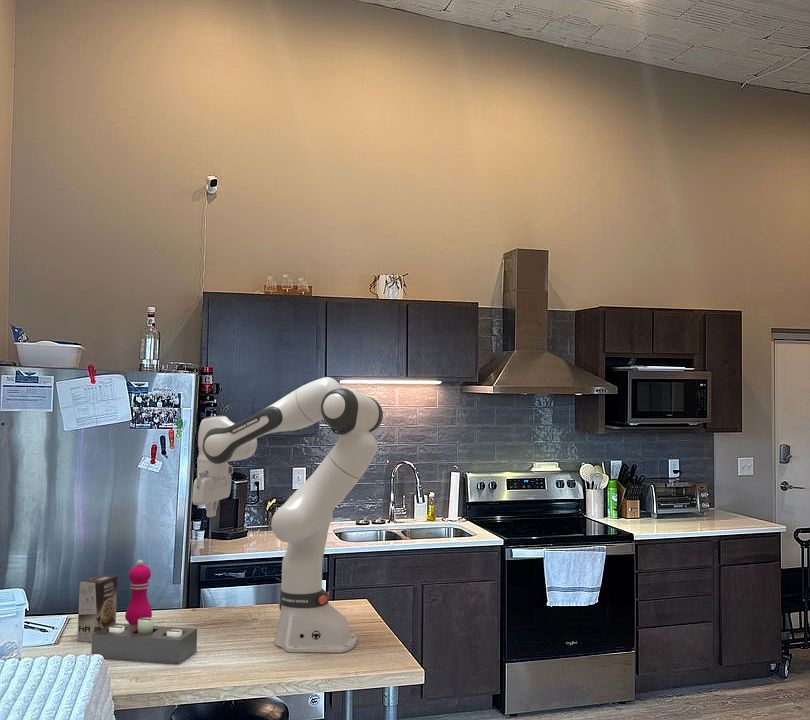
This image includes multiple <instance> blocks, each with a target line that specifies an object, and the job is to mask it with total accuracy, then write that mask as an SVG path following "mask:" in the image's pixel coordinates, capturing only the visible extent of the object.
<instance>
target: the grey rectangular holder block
mask: <svg viewBox="0 0 810 720" xmlns="http://www.w3.org/2000/svg"><path fill="white" fill-rule="evenodd" d="M116 625H122V626H124V627H125V629H124V631H123V632H121V633H117V632H109V627H111V626H116ZM172 629H180V630H182V635H181V636H180V637H174V636H167V631H168V630H172ZM197 643H198V628H194V627H193V628H192V627H190V628H189V627H180V626H179V627H177V626H162V625H161V626H159V625H153V633H152V634H150V635H146V634H138V625H135V624H129V623H119V622H116V623H112V624H110V625H108V626H106V627H104V628H102V629H100V630H99V631H97V632H95V633H93V634H92V642H91V654H100V655H102V656H103V657H104V658H105V659H104V660H112V661H113V660H114V661H115V660H116V661H128V662H130V661H131V662H141V663H153V664H155V663H157V664H167V665H179V664H180V665H181V664H182V663H184V662H185V661H186V660H188V659H190V658H191V657H192V656H193V655H195V654H196V653H197V652H198V651H197V650H198V649H197V648H198V646H197V645H198V644H197Z"/></svg>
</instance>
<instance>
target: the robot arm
mask: <svg viewBox="0 0 810 720" xmlns="http://www.w3.org/2000/svg"><path fill="white" fill-rule="evenodd" d="M383 419H384V412H383V409H382V407H381V404H380V403H379V402H378V401H377V400H376V399H374V398H373V397H371V396H368V395H366V394H364V393H362V392H359V391H357V390H351V389H348V388H342V386H341V384H340V383H339V382H338V381H337V380H336V379H335V378H333V377H331V376H326V377H322V378H318V379H315V380H313V381H309V382H307V383H306V384H304V385H301V386H300V387H298V388H296V389H294V390H293V391H291V392H290V393H288V394H286V395H285V396H284V397H283V396H282V398H280V399H278V400H277V401H276V402H274V403H272V404H270V405H269V406H267V407H266V408H264V409H262V410H260V411H258V412H256V413H254V414H252V415H250V416H247V417H246V418H244V419H242V420H240V421H238V422H236V423H235V422H234V421H233V422H232V420H230V419H229V417H227V416H226V415H221V414H220V415H211V416H206V417H204V418H203V419H202V420H200V421H201V422H200V425H199V427H198V435H197V436H198V437H197V446H198V451H199V452H198V456H197V467H196V468H197V470H196V471H197V472H196V478H195V480H194V481H193V486H192V495H191V496H192V497H191V501H192V504H193V505H195V506H204V508H205V511H206V513H205V514H206V517H207V518H213V517H215V516H216V515H217V508H218V506H219V501H221V500H223V499H228V498H229V497H230V494H231V490H232V475H233V473H234V467H233V466H231V464H229V462H236V461H242V460H247V459H249V458H251V457H253V456H254V455H255V453H256V451H257V448H258V438H260V437H263V436H265V435H269V434H271V433H272V434H273V433H280V432H291V431H297V430H302V429H304V428H305V429H306V428H307V427H310V426H312V425H315V424H316V423H317V422H320V421H322V420H325V422H326V423H327V424H328V426H329V427H330V430H331V431H332V433H333V434H335V435H337V436H338V439H337V442H336V443H335V444H334V446H333V447H332V449H331V450H330V451H329V452H328V454H327V455H325V458H324V459H323V460H322V461H321V463H320V464H319V465H318V466H317V467H316V469H315V470H314V472H313V473H311V475H310V476H309V477H308V479H306V480H305V481H304V482H303V483H302V484H301V485H300V486H299V487H298V488H297V489H296V490H295V491H294V492H293V493H292V495H290V496H289V498H288V499H287V500H286V501H285V502H284V503H283V504H282V505H281V506H280V507H279V508H278V509H277V510H276V511H275V512H274V514H273V516H272V517H271V521H270V522H271V523H270V524H271V530H272V533H273V535H274V536H275V538H277V539H278V540H279V541H281V542H284V543H288V544H287V548H286V551H285V553H284V556H283V557H282V562H281V589H280V590H279V598H278V602H279V603H278V605H279V606H278V607H279V619H278V626H277V631H276V635H275V638H274V641H273V643H274V644H275V645H276V646H277V647H280V648H282V649H284V650H285V651H286V652H288V653H345V652H348V651H350V650H352V649H353V648H354V647H356V645H357V642H358V637H357V635H356V634H355V633H350V627H349V621H348V619H347V617H346V615H345V616H344V615H343V613H341V612H339V610H337V609H336V608H335V607H333V606H332V604H330V603H329V601H330V599H329V598H330V597H329V596H330V592H331V591H326V590H324V588H322V587H323V562H324V556H325V555H324V554H325V548H326V545H327V539H328V534H329V533H328V532H329V529H330V525H331V523H332V521H333V516H334V515H333V513H334V512H333V510H334V509H336V508H337V506H338V505H339V504H341V503H342V502H343V501H344V500H345V499H346V497H347V496H348V495H349V493H350V492H351V491H352V490H353V488H354V487H355V486H356V485H357V483H358V482H359V481H360V479H361V478H362V477H363V475H364V474H365V473H366V471H367V470H368V468H369V467H370V465H371V464H372V462H373V460H374V458H375V455H376V454H377V452H378V447H379V446H378V443H377V440H376V438H375V437H374V435H373V434H371V433H372V432H374V431H376V430H377V429H379V427H380V426H381V423H382V422H383Z"/></svg>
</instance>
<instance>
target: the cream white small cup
mask: <svg viewBox="0 0 810 720" xmlns="http://www.w3.org/2000/svg"><path fill="white" fill-rule="evenodd" d="M181 635H182V630H180V629H172V630H168V631H167V636H174V637H180V636H181Z"/></svg>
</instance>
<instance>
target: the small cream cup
mask: <svg viewBox="0 0 810 720" xmlns="http://www.w3.org/2000/svg"><path fill="white" fill-rule="evenodd" d="M124 629H125V627H124V626H122V625H116V626H111V627H109V632H117V633H121V632H123V631H124Z"/></svg>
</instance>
